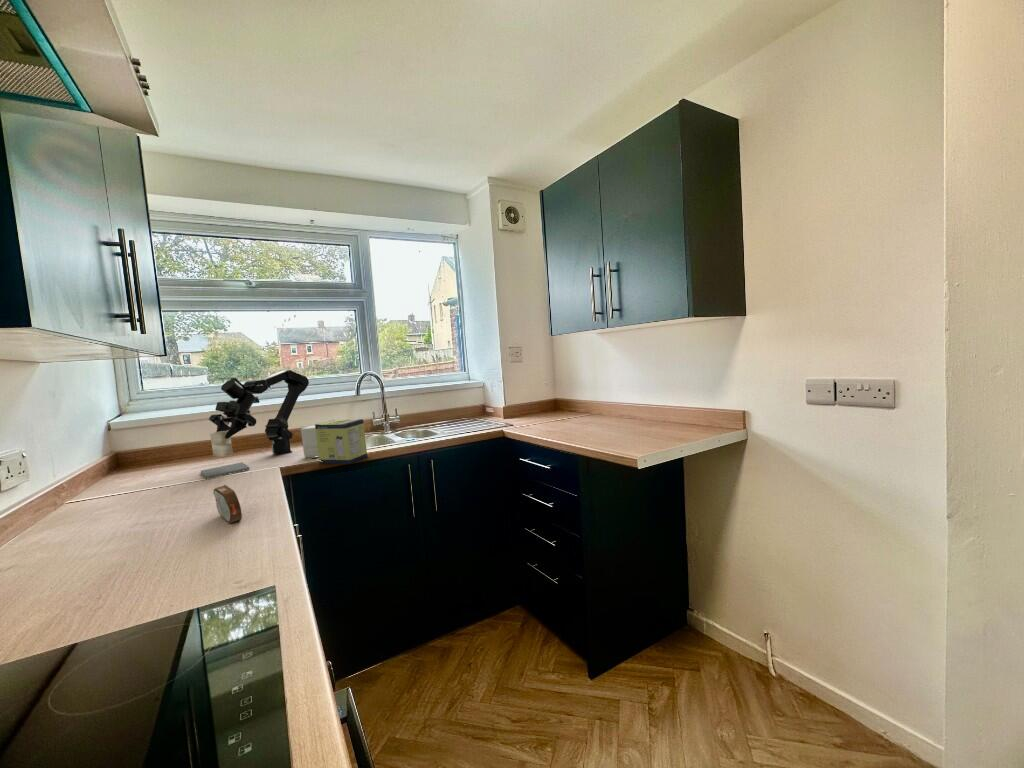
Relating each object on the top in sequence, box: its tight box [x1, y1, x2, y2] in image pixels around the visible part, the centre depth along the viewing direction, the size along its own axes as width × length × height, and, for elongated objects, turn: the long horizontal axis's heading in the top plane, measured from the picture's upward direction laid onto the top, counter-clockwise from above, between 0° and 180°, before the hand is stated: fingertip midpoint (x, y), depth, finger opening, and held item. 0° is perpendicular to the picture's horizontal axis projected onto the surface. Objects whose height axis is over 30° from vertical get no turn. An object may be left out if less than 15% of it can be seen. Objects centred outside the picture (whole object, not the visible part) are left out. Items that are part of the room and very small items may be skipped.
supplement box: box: [300, 424, 319, 458], centre depth 182 cm, size 7×7×13 cm
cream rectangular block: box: [209, 431, 234, 458], centre depth 166 cm, size 4×4×9 cm
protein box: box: [314, 418, 368, 465], centre depth 170 cm, size 10×16×16 cm
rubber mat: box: [200, 461, 251, 479], centre depth 167 cm, size 14×14×1 cm
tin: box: [213, 484, 243, 524], centre depth 113 cm, size 15×3×8 cm, turn 47°
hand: (221, 438), depth 166 cm, fingers closed on cream rectangular block, 4 cm apart
